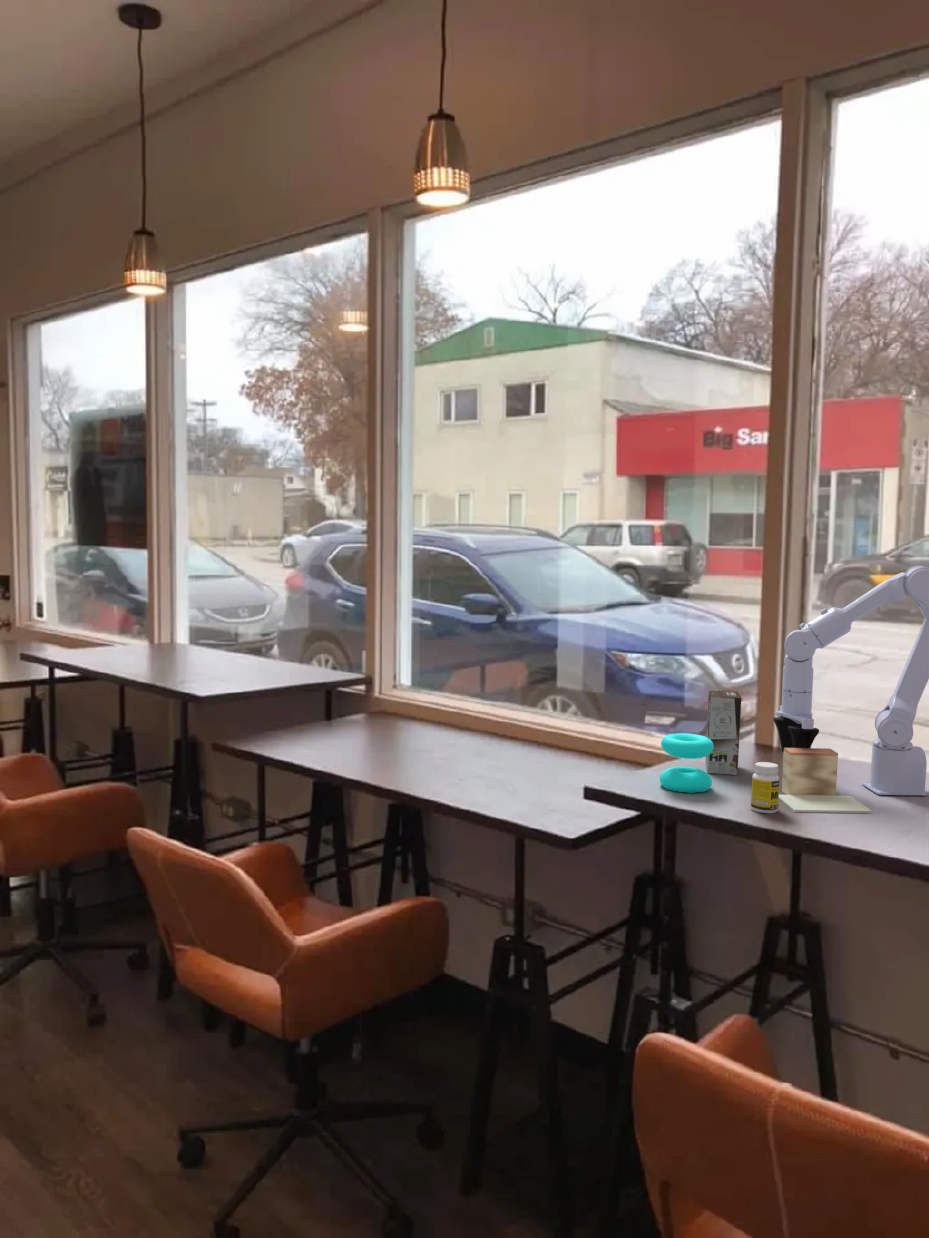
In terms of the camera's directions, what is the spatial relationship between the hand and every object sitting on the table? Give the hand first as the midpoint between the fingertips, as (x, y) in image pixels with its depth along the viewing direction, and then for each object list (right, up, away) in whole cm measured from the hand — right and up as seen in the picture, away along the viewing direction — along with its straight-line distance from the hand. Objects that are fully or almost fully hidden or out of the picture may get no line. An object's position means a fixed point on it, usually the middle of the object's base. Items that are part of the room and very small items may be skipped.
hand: (793, 757), depth 199 cm
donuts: (-23, -5, -6) cm, 24 cm away
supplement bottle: (-12, -7, -20) cm, 24 cm away
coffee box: (-12, -4, +9) cm, 16 cm away
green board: (0, -7, -16) cm, 17 cm away
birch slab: (0, -6, -8) cm, 10 cm away
